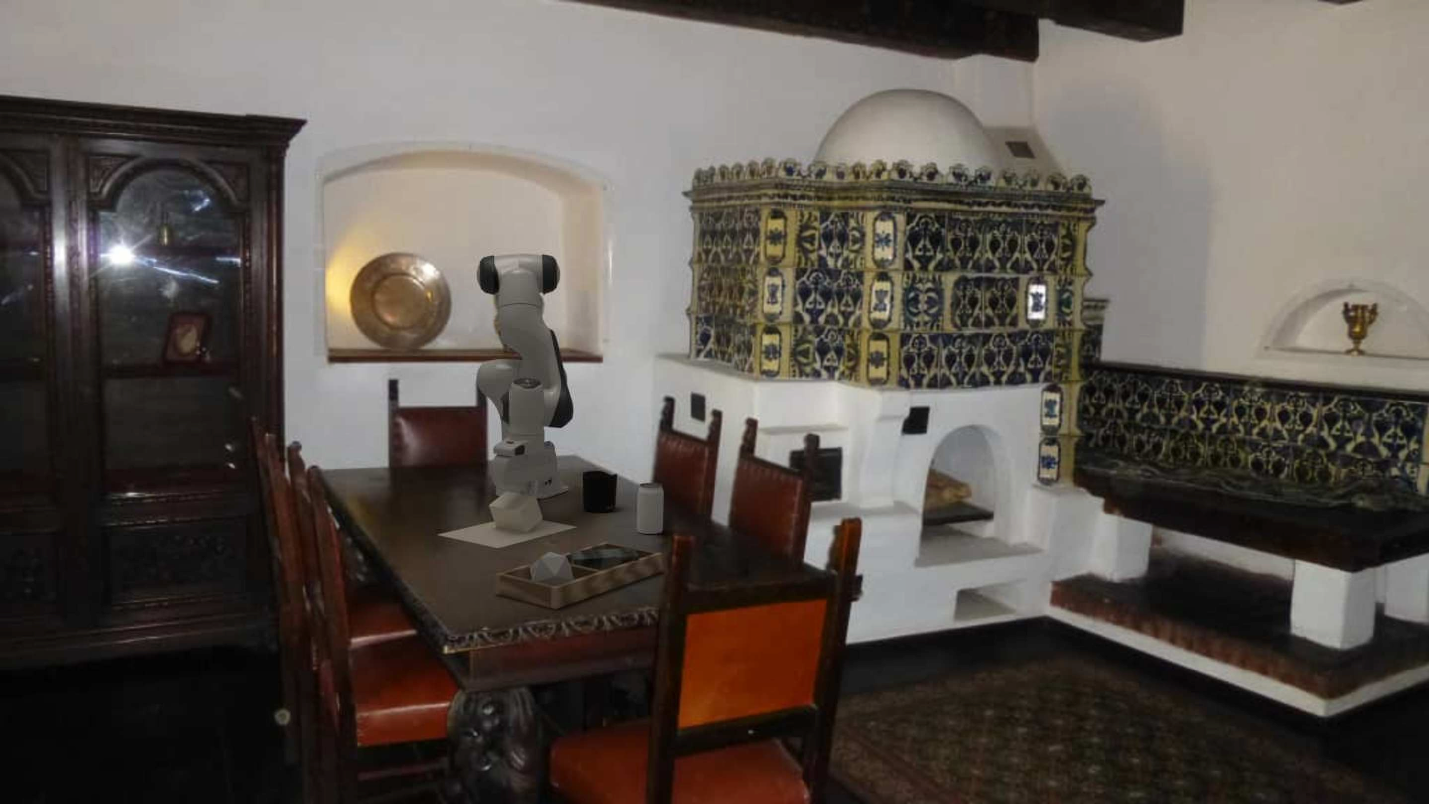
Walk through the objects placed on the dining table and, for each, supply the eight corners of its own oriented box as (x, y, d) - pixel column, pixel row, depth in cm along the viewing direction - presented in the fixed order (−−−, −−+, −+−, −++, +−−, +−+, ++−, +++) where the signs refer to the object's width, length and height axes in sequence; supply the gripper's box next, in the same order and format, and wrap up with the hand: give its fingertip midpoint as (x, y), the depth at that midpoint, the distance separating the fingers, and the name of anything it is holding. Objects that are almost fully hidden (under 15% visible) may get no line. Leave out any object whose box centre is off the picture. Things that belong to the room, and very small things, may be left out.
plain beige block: (513, 512, 272) (505, 491, 269) (542, 518, 266) (535, 496, 263) (496, 527, 267) (488, 505, 264) (526, 533, 262) (518, 511, 259)
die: (541, 587, 220) (518, 555, 215) (578, 567, 220) (556, 535, 215) (546, 612, 213) (523, 580, 208) (585, 592, 213) (562, 559, 208)
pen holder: (583, 513, 287) (584, 477, 286) (580, 506, 297) (581, 470, 295) (618, 513, 289) (619, 476, 288) (614, 506, 299) (615, 470, 297)
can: (666, 530, 271) (667, 483, 270) (656, 536, 265) (658, 488, 264) (642, 528, 273) (643, 481, 272) (632, 533, 267) (633, 485, 266)
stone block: (568, 569, 231) (569, 546, 231) (632, 568, 235) (633, 545, 234) (572, 580, 223) (573, 557, 222) (638, 579, 226) (639, 555, 226)
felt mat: (518, 517, 281) (518, 515, 281) (577, 528, 270) (577, 526, 270) (437, 536, 257) (437, 534, 257) (497, 549, 247) (497, 548, 247)
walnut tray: (605, 559, 241) (605, 541, 241) (662, 571, 233) (662, 553, 232) (495, 593, 213) (495, 574, 212) (555, 609, 204) (556, 588, 204)
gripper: (544, 438, 276) (544, 491, 278) (488, 447, 259) (487, 503, 261) (563, 441, 273) (562, 494, 275) (507, 450, 256) (506, 507, 257)
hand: (525, 499), depth 268 cm, fingers closed
